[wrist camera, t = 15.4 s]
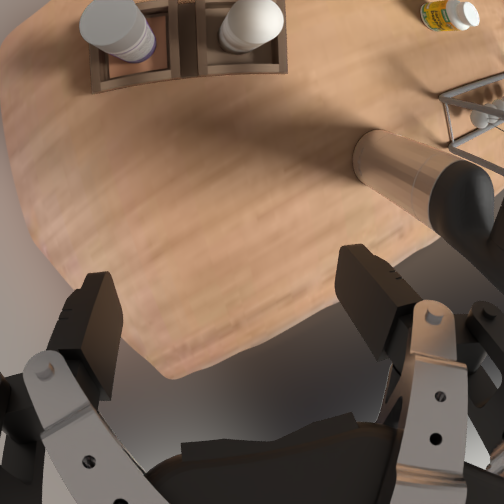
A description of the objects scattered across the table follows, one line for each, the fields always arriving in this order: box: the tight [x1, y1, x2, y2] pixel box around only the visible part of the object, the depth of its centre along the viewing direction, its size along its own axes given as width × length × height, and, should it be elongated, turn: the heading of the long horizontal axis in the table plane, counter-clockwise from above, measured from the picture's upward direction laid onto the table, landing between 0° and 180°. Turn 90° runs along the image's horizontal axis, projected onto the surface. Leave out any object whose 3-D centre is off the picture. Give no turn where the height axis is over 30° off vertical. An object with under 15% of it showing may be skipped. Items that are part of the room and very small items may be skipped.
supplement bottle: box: [420, 0, 479, 31], centre depth 27 cm, size 5×5×10 cm
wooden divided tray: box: [89, 0, 288, 94], centre depth 25 cm, size 24×10×12 cm, turn 92°
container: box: [79, 0, 157, 63], centre depth 21 cm, size 5×5×15 cm
